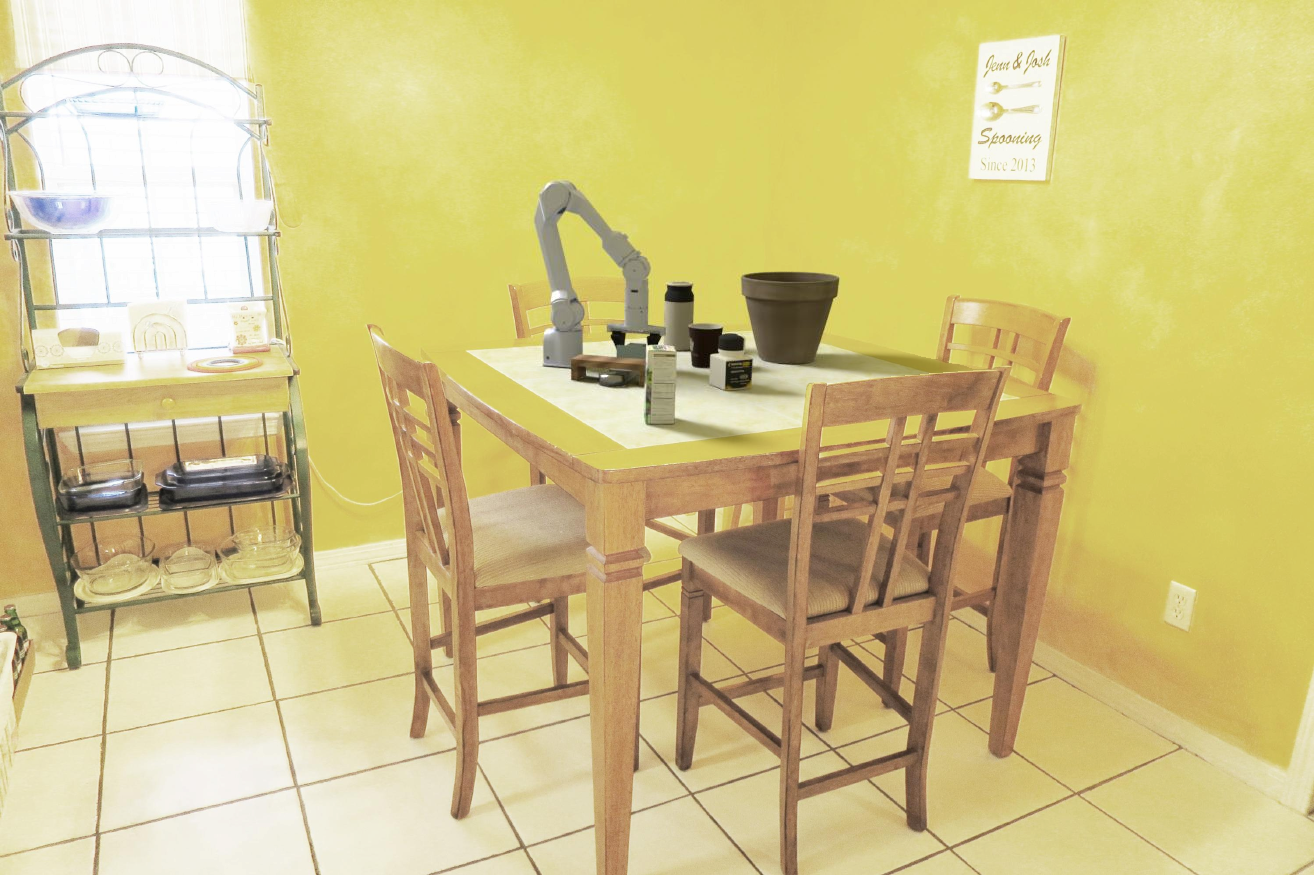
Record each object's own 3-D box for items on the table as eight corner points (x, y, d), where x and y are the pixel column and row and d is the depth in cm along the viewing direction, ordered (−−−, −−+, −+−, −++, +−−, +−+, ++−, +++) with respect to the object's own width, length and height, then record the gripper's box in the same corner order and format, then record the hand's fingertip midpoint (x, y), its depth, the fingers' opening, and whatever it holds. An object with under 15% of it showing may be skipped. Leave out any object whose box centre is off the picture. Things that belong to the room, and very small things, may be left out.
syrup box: (643, 416, 181) (644, 344, 177) (672, 416, 181) (674, 344, 177) (645, 424, 175) (646, 350, 171) (675, 424, 176) (677, 350, 172)
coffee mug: (719, 370, 225) (720, 329, 222) (684, 368, 226) (685, 328, 223) (725, 361, 236) (726, 322, 233) (692, 359, 237) (693, 320, 234)
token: (595, 386, 206) (595, 375, 205) (604, 380, 211) (604, 370, 211) (620, 388, 204) (620, 377, 204) (629, 382, 210) (629, 372, 209)
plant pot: (725, 362, 234) (728, 277, 227) (752, 346, 256) (756, 268, 249) (822, 372, 225) (828, 283, 219) (841, 354, 247) (847, 273, 241)
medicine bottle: (725, 391, 203) (727, 338, 200) (708, 384, 209) (710, 332, 206) (751, 388, 206) (754, 335, 203) (735, 381, 212) (737, 330, 209)
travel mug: (697, 348, 252) (699, 282, 247) (682, 352, 245) (684, 285, 240) (673, 344, 256) (674, 280, 251) (658, 349, 250) (659, 282, 244)
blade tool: (599, 379, 212) (599, 354, 210) (622, 365, 227) (623, 342, 226) (632, 382, 210) (633, 356, 208) (653, 368, 225) (654, 344, 224)
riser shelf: (571, 380, 211) (570, 359, 209) (580, 375, 216) (580, 354, 215) (645, 386, 206) (645, 364, 205) (653, 381, 212) (653, 359, 210)
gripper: (669, 307, 222) (668, 361, 226) (613, 303, 226) (613, 357, 230) (661, 311, 216) (660, 367, 220) (603, 307, 219) (603, 362, 223)
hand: (635, 362), depth 224 cm, fingers closed on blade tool, 7 cm apart
